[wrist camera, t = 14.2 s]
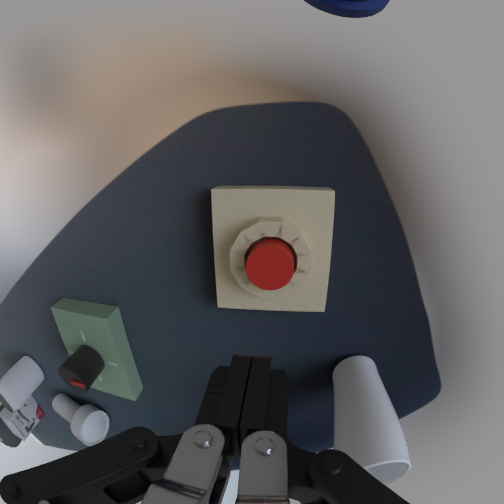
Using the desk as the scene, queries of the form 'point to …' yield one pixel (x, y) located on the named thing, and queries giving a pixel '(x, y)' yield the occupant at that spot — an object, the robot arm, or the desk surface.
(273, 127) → the desk surface
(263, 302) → the switch housing
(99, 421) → the spotlight
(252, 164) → the desk surface
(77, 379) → the dial knob
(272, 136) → the desk surface
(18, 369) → the can
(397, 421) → the drinking glass
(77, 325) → the dial panel
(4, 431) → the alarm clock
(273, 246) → the stop button
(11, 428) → the ink box
